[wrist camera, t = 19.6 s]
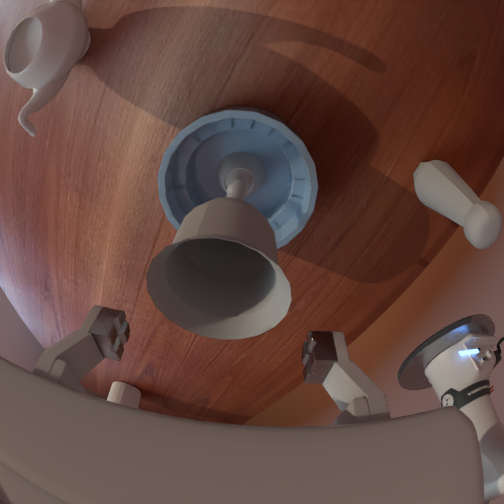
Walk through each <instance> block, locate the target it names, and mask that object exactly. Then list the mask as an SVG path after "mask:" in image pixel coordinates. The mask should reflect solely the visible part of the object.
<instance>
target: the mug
mask: <svg viewBox="0 0 504 504" xmlns="http://www.w3.org/2000/svg"><path fill="white" fill-rule="evenodd" d="M140 398H141V392H140V391H139V390H138V389H137V388H135V387H133V386H132V385H129V384H127V383H124V382H118V381H117V382H113V383H112V386H111V389H110V392H109V395H108V399H107V401H110V402H114V403H117V404H121V405H125V406H128V407H132V408H136V409H138V406H139V402H140Z"/></svg>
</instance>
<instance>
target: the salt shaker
mask: <svg viewBox="0 0 504 504" xmlns="http://www.w3.org/2000/svg"><path fill="white" fill-rule="evenodd" d="M413 177H414V184H415V191H416V193H417V196H418V199H419V200H420V201H421V202H422V203H423V204H424V205H426V206H427V207H429V208H431V209H433V210H434V211H436V212H438V213H440V214H442V215H444V216H445V217H447V218H449V219H451V220H452V221H454V222H456V223H457V224H459V225H461V226H462V227H463V228H464V234H465V237H466V238H467V239H468V240H469V241H470V243H471V244H472V245H473V246H475V247H476V248H479V249H484V248H487V247H489V246H491V245H492V244H493V243H494V242H495V241H496V240H497V238H498V236H499V234H500V232H501V228H502V216H501V213H500V212H499V210H498V209H497V208H496V206H495V205H493V204H492V203H491V202H486V201H481V200H480V199H479V198H478V197H477V196H476V194H475V193H474V192H473V191H472V190H471V188H470V187H469V186H468V185H467V184H466V183H465V182H464V180H463V179H462V178H461V177H460V176H459V175H458V174H457V173H456V172H455V171H454V170H453V168H452V167H451V166H450V165H449V164H448V163H447V162H443V161H440V160H433V161H429V162H421V163H420V165H419V166H418V168H417V169H416V171H415V172H414V173H413Z"/></svg>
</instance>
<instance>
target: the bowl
mask: <svg viewBox="0 0 504 504" xmlns="http://www.w3.org/2000/svg"><path fill="white" fill-rule="evenodd" d="M240 151H241V152H247V153H250V154H252V155H254V156H256V157H257V158H258V159H259V160H260V161H261V163H262V165H263V167H264V172H265V178H264V182H263V184H262V186H261V187H260V189H259V190H257V191H256V192H255V193H253V194H251V195H248V196H246V197H245V201H246V202H248V203H250V204H252V205H253V206H254V207H255V208H256V209H257V210H258V211H260V213H261V214H262V215H263V216H264V217H265V218H266V219H267V220H268V222H269V224H270V225H271V227H272V229H273V231H274V232H275V238H276V245H277V249H278V248H280V247H282V246H285V244H287V243H288V242H290V241H291V240H292V239H293V238H294V237H295V236H296V235H297V234H298V233H300V232H301V231H302V230H303V228H304V226H305V225H306V223H307V221H308V220H309V218H310V216H311V214H312V213H313V210H314V207H315V202H316V198H317V193H318V180H317V174H316V167H315V163H314V161H313V159H312V157H311V155H310V153H309V152H308V150H307V148H306V146H305V144H304V142H303V141H302V139H301V138H300V137H299V135H298V134H297V132H296V131H295V130H294V129H293V128H292V127H290V126H289V125H288V124H287V123H286V122H285V121H284V120H283V119H281V118H280V117H279V116H277V115H275V114H272V113H270V112H268V111H265V110H263V109H260V108H257V107H249V106H229V107H225V108H221V109H218V110H214V111H211V112H209V113H207V114H206V115H204V116H202V117H201V118H199V119H198V120H196V121H195V122H193V123H192V124H190V125H189V126H187V127H186V128H184V129H183V130H181V131H180V132H179V133H178V134H177V136H176V137H175V139H174V140H173V141H172V143H171V144H170V145H169V147H168V148H167V150H166V151H165V153H164V156H163V159H162V163H161V166H160V170H159V173H158V186H159V198H160V201H161V204H162V206H163V209H164V211H165V214H166V216H167V218H168V220H169V221H170V222H171V224H172V225H173V226H174V227H175V229H176V230H177V231H178V230H179V228H180V226H181V224H182V222H183V220H184V218H185V216H186V215H187V214H189V213H190V212H191V211H192V210H193V209H194V208H195V207H197V206H199V205H201V204H204V203H206V202H208V201H210V200H213V199H215V198H221V197H226V196H227V192H226V191H225V190H223V189H222V188H221V186H220V185H219V183H218V181H217V176H216V172H217V166H218V165H219V163H220V161H221V160H222V159H223V158H224V157H225V156H226V155H228V154H231V153H233V152H240Z"/></svg>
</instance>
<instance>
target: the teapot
mask: <svg viewBox="0 0 504 504" xmlns="http://www.w3.org/2000/svg"><path fill="white" fill-rule="evenodd" d="M82 9H83V5H82V0H49V3H46V4H44V5H42V6H40V7H39V8H37V9H35V10H33V11H32V12H30V13H29V14H27V15H26V16H25V17H24V18H22V19H21V20H20V21H19V22H18V24H17V25H16V26H15V27H14V29H13V30H12V32H11V34H10V35H9V38H8V40H7V43H6V46H5V50H4V66H5V69H6V71H7V73H8V74H9V76H10V77H11V78H12V79H13V80H14V81H15V82H17V83H18V84H19V85H20V86H22V87H24V88H29V89H33V95H32V97H31V99H30V100H29V101H28V102H27V103H26V104H25V106H24V107H23V108H22V109H21V111H20V113H19V115H18V121H19V123H20V124H21V126H22V127H23V128H24V129H25V130H26V131H27V132H28V133H29V134H30V135H31V136H32V137H34V136H35V134H36V129H35V127H34V126H33V125H32V124H31V123H30V122H29V121H28V116H29V115H31V114H33V113H35V112H37V111H39V110H40V109H42V108H43V107H44V106H45V105H46V104H47V103H48V102H49V101H50V100H51V99H52V98H53V97H54V96H55V95H56V94H57V93H58V92H59V91H60V89H61V88H62V87H63V85H64V83H65V82H66V80H67V78H68V76H69V74H70V71H71V69H72V68H73V67H74V66H75V65H76V63H77V62H78V61H79V60H80V59H81V58H82V57H83V56H84V55H85V54H86V52H87V51H88V49H89V46H90V42H91V35H90V32H89V29H88V23H87V20H86V18H85V16H84V14H83V13H82Z"/></svg>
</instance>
